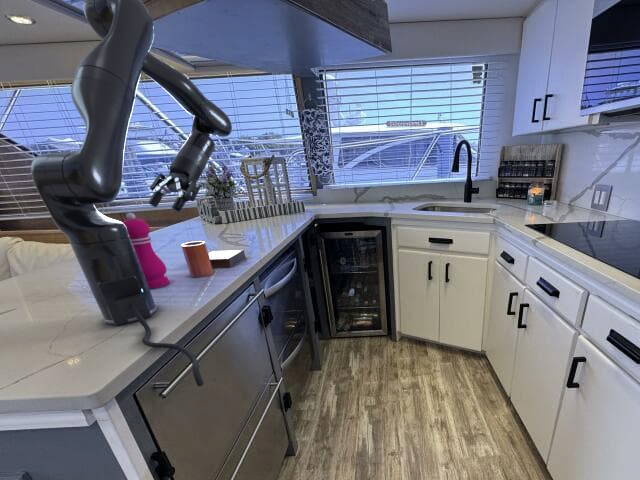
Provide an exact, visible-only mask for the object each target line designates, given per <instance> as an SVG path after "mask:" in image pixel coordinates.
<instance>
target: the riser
mask: <svg viewBox="0 0 640 480" xmlns="http://www.w3.org/2000/svg"><path fill="white" fill-rule="evenodd" d="M208 253H209V257H210V260H211V264H212V267H213V269H226V268H227V269H229V268H230V269H231V268H232V267H234V266H236V265H238V264H239V263H240V262H242V261H243V260H245V259H246V254H245V250H244V249H235V250H234V249H233V250H212V251H210V252H208Z"/></svg>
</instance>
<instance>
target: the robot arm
mask: <svg viewBox="0 0 640 480" xmlns="http://www.w3.org/2000/svg"><path fill="white" fill-rule="evenodd" d="M82 11H83V14H84V17H85V19H86V21H87V23H88V24H89V26H90V27H91V29H92V30H93V32H94V33H95V34H96V35H97V36H98V37H99V38H100V39H101V41H99V42H98V43H97V44H96V45H95V46H93V48H91V49H90V50H89V51H88V52H87V53H86V55H85V56H84V57H83V58H81V60H80V62H79V63H78V64H77V65H78V66H77V68H76V70H75V72H74V76H73V80H72V82H71V88H70V95H71V100H72V102H73V105H74V107H75V108H76V110H77V112H78V114H79V116H80V117H81V119H82V120H83V122H84V125H85V135H84V139H83V142H82V144H81V146H80V149H78V151H75V152H73V151H72V152H52V153H49V152H48V153H42V154H39V155H37V156H35V157H34V158H33V160H32V161H31V165H30V174H31V177H32V182H33V184H34V186H35V188H36V191H37V192H38V195H39V197H40V199H41V200H42V202H43V204H44V206H45V207H46V209H47V211H48V214H49V215H50V217H51V219H52V221H53V222H54V225H55V226H56V227H57V228H58V230H60V232H62V234H63V235H64V236H66V238H67V240H68V242H69V244H70V246H71V248H72V251H73V253H74V255H75V258H76V260H77V262H78V265H79V266H80V269H81V270H82V273H83V275H84V278H85V281H86V282H87V284H88V287H89V289H90V291H91V293H92V295H93V297H94V299H95V302H96V304H97V306H98V308H99V310H100V313H101V314H102V315H101V316H102V317H103V320H104V323H105V324H108V325H115V326H116V327H118V326H121V325H125V324H129V323H133V322H137V321H138V322H139V323H140V324H141V326H142V327H143V328H144V331H145V334H144V336H143V338H142V344H143V345H145V346H146V347H149V348H158V349H159V348H160V349H173V350H177V351H178V352H181V353H183V354H184V355H185V356H186V357H187V358H188V359H189V361H190V362H191V364H192V375H193V378H194V381H195V383H196V385H197V387H203V386H204V383H205V382H204V380H203V378H202V375H201V372H200V368H199V367H200V366H199V361H198V359H197V357H196V356H195V354H193V352H192V351H191V350H190V349H188V348H187V347H185V346H183V345H181V344H177V343H169V342H167V343H165V342H163V343H162V342H152V341H149V339H150V338H151V336H152V330H151V327H150V325H149V324H148V322H147V321H146V320H145V319H148V318H150V317H152V315H153V314H155V313H156V312H157V311H158V306H157V304H156V302H155V300H154V297H153V295H152V292H151V289H150V288H149V287H148V284H147V281H146V279H145V276H144V273H143V271H142V268H141V265H140V263H139V260H138V257H137V255H136V252H135V249H134V246H133V244H132V241H131V238H130V236H129V233H128V230H127V228H126V226H125V224H124V223H123V221H120V220H117V219H114V218H111V217H108V216H106V215H104V214H103V213H101V212H100V211H99V210H98V209H97V208H96V206H95V205H104V204H105V205H106V204H109V203H113V202H114V201H115V200H116V199H117V198H118V196H119V195H120V192H121V189H122V184H123V172H124V171H123V170H124V159H125V157H124V156H125V147H126V140H127V135H128V129H129V125H130V122H131V121H130V120H131V117H132V114H133V111H134V110H133V109H134V106H135V101H136V95H137V89H138V85H139V82H140V78H141V74H142V73H143V74H144V75H146V76H147V77H149V78H150V79H151V80H152V81H153V82H154V83H156V84H157V85H159V86H160V87H161V88H162V89H163V90H164V91H165V92H166V93H168V95H169V96H171V97H172V98H173V100H174V101H175V102H176V103H177V104H178V105H180V107H181V108H182V109H183V110H185V111H186V113H188V114H189V115H191V116H192V117H193V118H192V119H193V120H192V124H191V128H190V134H189V136H188V137H187V139H186V141H185V142H184V144H183V145H182V146H181V148H179V150H178V152H177V154H176V155H175V157H174V158H173V160H172V161H171V163H170V165H169V166H168V168H169V169H168V170H169V173H168V175H164V174H163V173H161V172H160V173H159V174H158V175H157V176H156V178H155V179H154V181H153V182H152V183H151V184H150V186H149V190H150V191H152V192H153V193H152V195H151V196H150V198H149V200H148V204H149V205H151V206H152V207H154V208H157V207H158V206H159V204H160V203H161V201H162V199H163V197H164V196H166V195H170V194H172V193H177V194H178V196H177V197H176V198H175V201H174V202H173V204H172V206H171V209H173V210H174V211H175V212H177V213H179V212H181V211H182V210H183V207H184V206H185V204H186V203H188V202H189V201H191V202H194V201H195V200H196V197H197V196H198V194H199V192H200V190H201V188H202V184H201V183H200V182H199V179H200V177H201V176H202V174H203V172H204V171H205V169H206V167H207V164H208V161H209V159H210V158H211V156H212V154H213V152H214V151H215V148H216V144H215V141H214V139H212V138H211V137H210V136H215V137H219V138H225V137H228V136H230V135H231V133H232V131H233V126H232V125H233V124H232V121H231V119H230V118H229V116H228V114H226V113H225V111H224V110H223V109H221V108H220V107H218V105H217V104H215V103H214V102H213V101H212V100H210V99H209V98H207V97H206V96H205V95H204V94H203V92H202V91H201V90H200V89H199V88H198V87H197V86H196V85H195V83H194V82H193V81H192V80H191V79H190V78H189V77H188V76H187V75H186V74H184V73H183V72H182V71H180V70H178V69H177V68H175V67H173V66H172V65H170V64H168V63H166V62H165V61H163V60H161V59H159V58H158V57H156V56H155V55H154V54H152V53H150V49H151V47H152V45H153V42H154V39H155V26H154V22H153V19H152V16H151V14H150V12H149V10H148V8H147V7H146V5H145V4H144V3H143V2H142V0H83V2H82ZM162 190H163V191H162Z"/></svg>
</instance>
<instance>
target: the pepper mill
mask: <svg viewBox="0 0 640 480" xmlns="http://www.w3.org/2000/svg"><path fill="white" fill-rule="evenodd" d="M125 217H126V219H125V220H123V221H122V223H124V224H125V226H126V228H127V230H128V233H129V236H130V238H131V241H132V244H133V246H134V249H135V252H136V255H137V257H138V260H139V263H140V265H141V268H142V271H143V273H144V276H145V279H146V281H147V284H148V287H149V288H150V290H153V289H158V288H161V287H165V286H166V285H168V284H169V283H170V281H169V278H168V276H167V275H166V273H167V270H168V269H167V266H166V264H165V263H164V261H163V260H162V259H161V258H160V257H159V256H158V255H157V254H156V252H155V250H154V249H153V247H152V239H151V236H150V235H149V234H150V232H151V227H150V225H149V224H148V222H146V220H143V219H141V218H136V215H135V213H133V212H127V213H126V215H125Z"/></svg>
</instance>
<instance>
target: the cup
mask: <svg viewBox="0 0 640 480" xmlns="http://www.w3.org/2000/svg"><path fill="white" fill-rule="evenodd" d="M180 247H181V250H182V254H183V257H184V260H185V264H186V267H187V269H188V273H189V275H190V277H191V278H203V277H207V276H210V275H213V274H214V268H213V267H212V264H211V260H210V257H209V253H210V252H209V251H208V246H207V243H206V241H204V240H203V241H202V240H198V241H190V242H185V243H181V245H180Z"/></svg>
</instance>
